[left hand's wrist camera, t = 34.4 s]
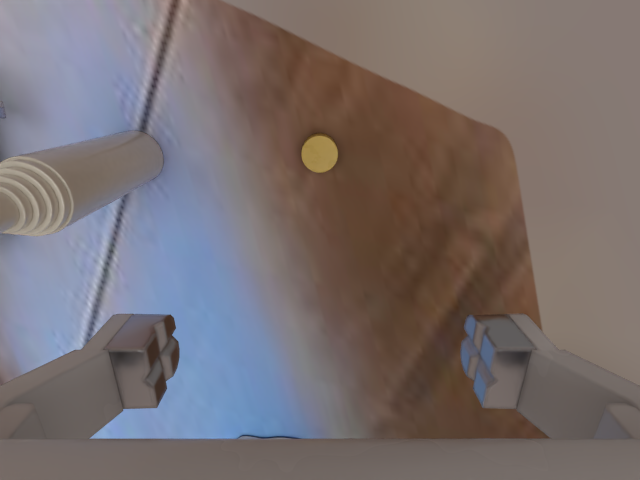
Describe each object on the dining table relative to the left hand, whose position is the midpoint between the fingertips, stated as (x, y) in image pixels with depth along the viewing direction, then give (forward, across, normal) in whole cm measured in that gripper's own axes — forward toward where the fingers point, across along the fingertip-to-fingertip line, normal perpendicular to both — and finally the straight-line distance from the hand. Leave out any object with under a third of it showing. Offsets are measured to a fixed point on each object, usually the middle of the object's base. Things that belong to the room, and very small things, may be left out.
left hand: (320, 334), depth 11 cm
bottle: (+33, +20, +1) cm, 38 cm away
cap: (+31, 0, 0) cm, 31 cm away
